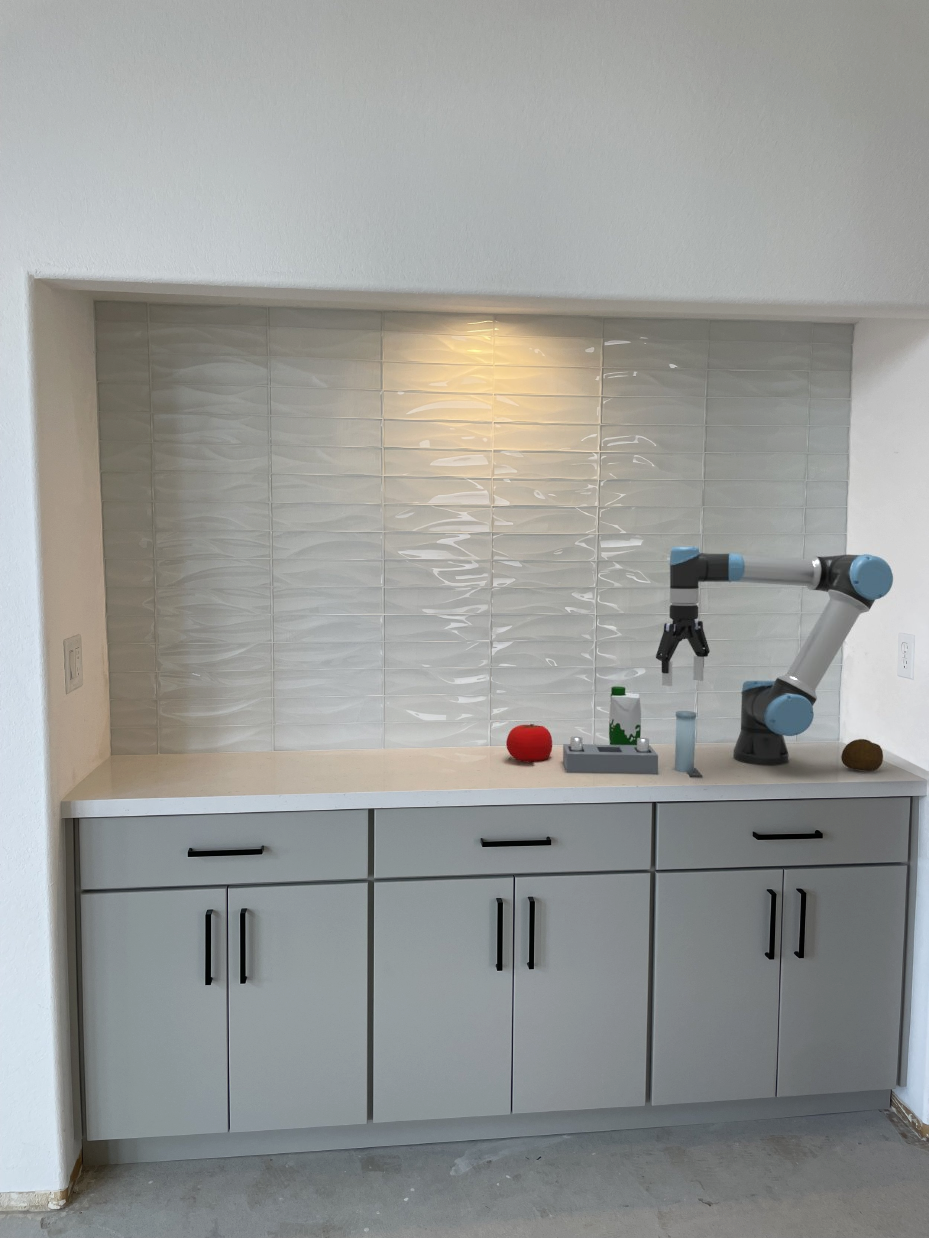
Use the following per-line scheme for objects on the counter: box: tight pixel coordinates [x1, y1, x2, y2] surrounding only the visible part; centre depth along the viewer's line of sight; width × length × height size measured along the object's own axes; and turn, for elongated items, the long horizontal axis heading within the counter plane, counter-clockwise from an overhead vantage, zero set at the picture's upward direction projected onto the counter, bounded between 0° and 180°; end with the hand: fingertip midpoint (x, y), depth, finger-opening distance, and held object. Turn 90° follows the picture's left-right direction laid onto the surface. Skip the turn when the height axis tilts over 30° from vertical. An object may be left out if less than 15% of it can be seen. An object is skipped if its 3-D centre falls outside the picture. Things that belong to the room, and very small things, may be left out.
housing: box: [562, 743, 659, 775], centre depth 244 cm, size 24×12×6 cm, turn 89°
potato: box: [840, 738, 884, 772], centre depth 248 cm, size 8×12×9 cm
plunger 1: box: [569, 736, 583, 752], centre depth 244 cm, size 3×3×7 cm
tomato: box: [505, 723, 553, 763], centre depth 255 cm, size 14×13×10 cm
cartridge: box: [674, 710, 697, 775], centre depth 242 cm, size 5×5×16 cm
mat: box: [687, 767, 703, 779], centre depth 243 cm, size 8×8×1 cm
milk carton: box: [608, 686, 642, 745], centre depth 262 cm, size 9×9×20 cm
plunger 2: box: [637, 737, 650, 753], centre depth 243 cm, size 3×3×7 cm
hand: (682, 682), depth 243 cm, fingers open, 13 cm apart
